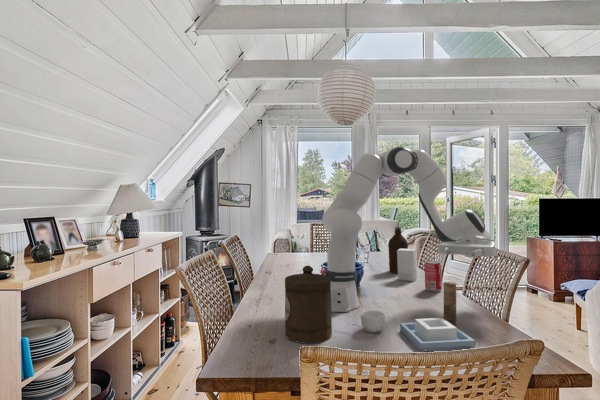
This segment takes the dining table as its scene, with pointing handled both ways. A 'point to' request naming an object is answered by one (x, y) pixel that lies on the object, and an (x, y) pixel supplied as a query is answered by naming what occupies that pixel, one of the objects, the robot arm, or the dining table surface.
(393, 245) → the olive oil
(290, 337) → the wooden container
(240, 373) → the dining table surface
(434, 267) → the soda can
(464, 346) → the tray
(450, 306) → the peg
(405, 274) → the skincare box
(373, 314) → the teacup
